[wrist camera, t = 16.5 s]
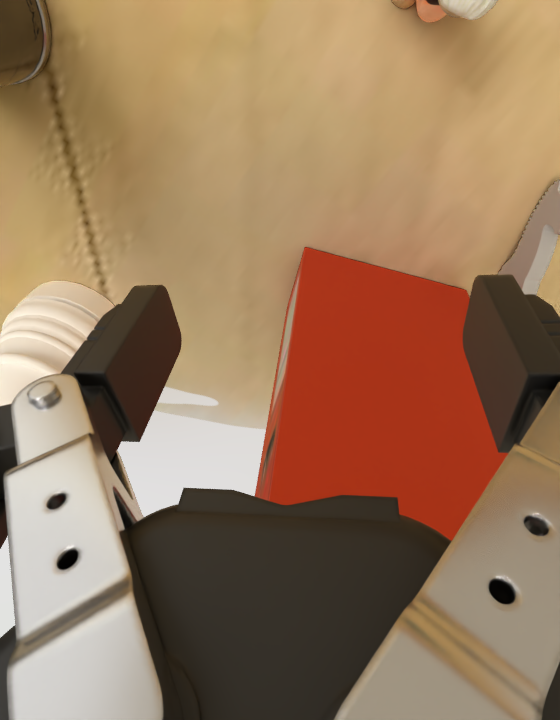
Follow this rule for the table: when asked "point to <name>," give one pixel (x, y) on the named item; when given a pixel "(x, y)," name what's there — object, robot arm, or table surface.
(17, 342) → the honey pot
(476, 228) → the table surface
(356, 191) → the table surface
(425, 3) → the grandmother figurine
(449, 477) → the file binder
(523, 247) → the grey flat fragment
